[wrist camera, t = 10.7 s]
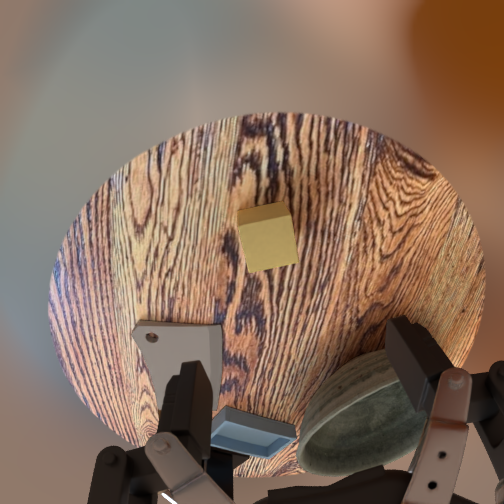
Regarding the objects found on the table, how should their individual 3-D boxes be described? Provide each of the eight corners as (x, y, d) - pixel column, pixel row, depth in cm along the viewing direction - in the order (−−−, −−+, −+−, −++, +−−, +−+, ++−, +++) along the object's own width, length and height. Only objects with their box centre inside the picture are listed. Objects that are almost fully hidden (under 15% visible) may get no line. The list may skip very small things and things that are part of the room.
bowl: (283, 325, 31) (299, 399, 22) (450, 298, 31) (495, 348, 22) (285, 431, 40) (293, 488, 30) (411, 405, 40) (434, 451, 31)
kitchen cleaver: (215, 447, 40) (150, 442, 38) (215, 442, 41) (151, 437, 39) (227, 328, 30) (129, 319, 29) (226, 322, 31) (131, 314, 30)
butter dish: (202, 429, 39) (201, 443, 36) (225, 405, 36) (225, 420, 34) (267, 446, 41) (268, 459, 39) (294, 425, 39) (297, 438, 37)
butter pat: (247, 252, 28) (249, 273, 24) (237, 210, 26) (237, 225, 22) (291, 243, 28) (299, 262, 24) (283, 200, 26) (291, 214, 22)
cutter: (178, 450, 41) (170, 533, 27) (192, 436, 39) (185, 528, 25) (232, 465, 44) (233, 542, 29) (249, 452, 42) (254, 536, 27)
